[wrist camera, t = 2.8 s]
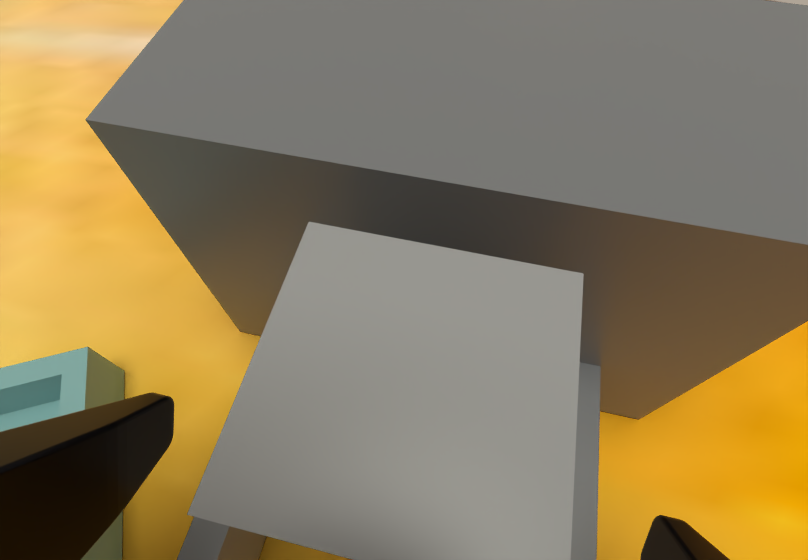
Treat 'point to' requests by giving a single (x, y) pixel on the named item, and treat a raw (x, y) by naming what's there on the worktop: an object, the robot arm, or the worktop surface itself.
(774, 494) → the worktop surface
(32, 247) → the worktop surface
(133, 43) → the worktop surface
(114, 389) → the teal tray
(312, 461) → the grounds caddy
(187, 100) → the coffee machine bay
